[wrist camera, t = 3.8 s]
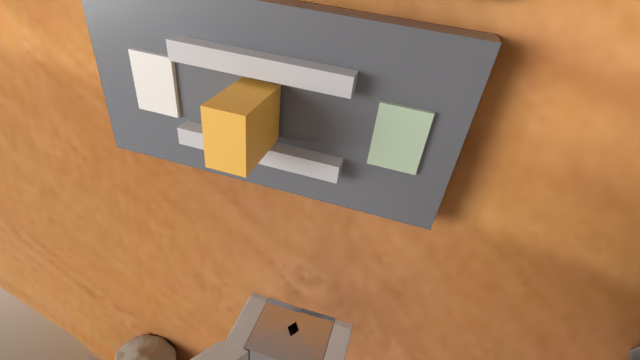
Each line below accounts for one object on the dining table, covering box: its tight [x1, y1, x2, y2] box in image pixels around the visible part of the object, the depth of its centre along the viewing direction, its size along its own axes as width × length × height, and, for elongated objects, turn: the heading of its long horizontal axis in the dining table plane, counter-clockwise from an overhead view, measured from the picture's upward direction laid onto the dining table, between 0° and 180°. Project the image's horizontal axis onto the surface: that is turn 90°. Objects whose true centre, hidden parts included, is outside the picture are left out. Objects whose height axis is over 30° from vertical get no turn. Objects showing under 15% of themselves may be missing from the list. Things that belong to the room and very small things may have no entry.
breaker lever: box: [200, 77, 281, 178], centre depth 21 cm, size 2×4×5 cm, turn 173°
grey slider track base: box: [81, 0, 501, 230], centre depth 23 cm, size 24×12×3 cm, turn 83°
